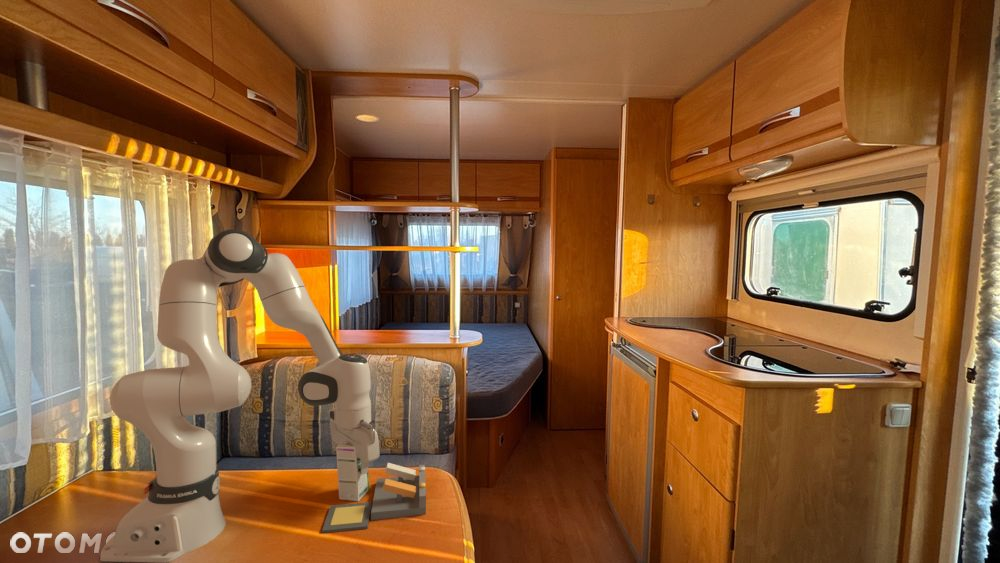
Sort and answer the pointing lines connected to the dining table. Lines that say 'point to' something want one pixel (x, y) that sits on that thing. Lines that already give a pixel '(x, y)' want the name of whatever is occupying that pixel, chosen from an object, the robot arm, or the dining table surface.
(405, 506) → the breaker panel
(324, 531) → the pad
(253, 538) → the dining table surface
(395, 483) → the block
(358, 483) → the syrup box
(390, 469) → the block
